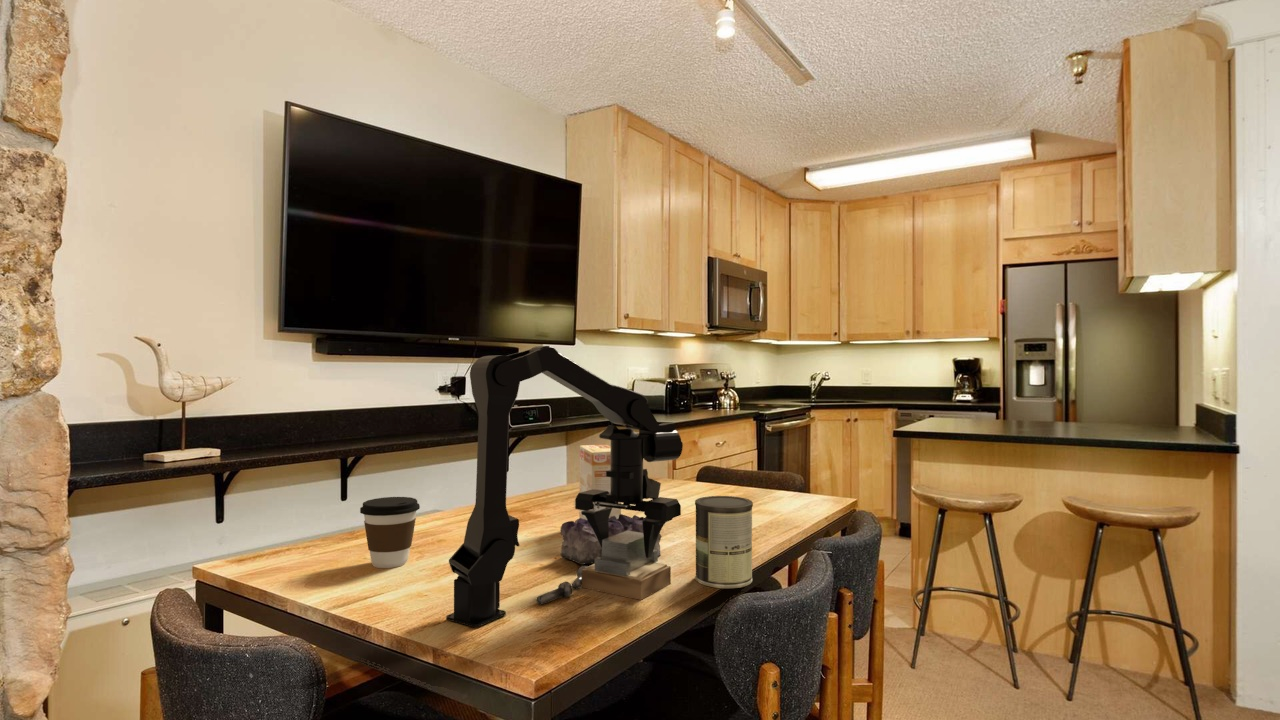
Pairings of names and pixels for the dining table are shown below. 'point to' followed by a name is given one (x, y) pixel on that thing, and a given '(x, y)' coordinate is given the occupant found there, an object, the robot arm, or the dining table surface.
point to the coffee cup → (389, 529)
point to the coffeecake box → (595, 471)
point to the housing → (623, 554)
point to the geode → (584, 542)
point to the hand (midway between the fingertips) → (626, 553)
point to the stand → (629, 580)
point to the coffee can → (723, 541)
